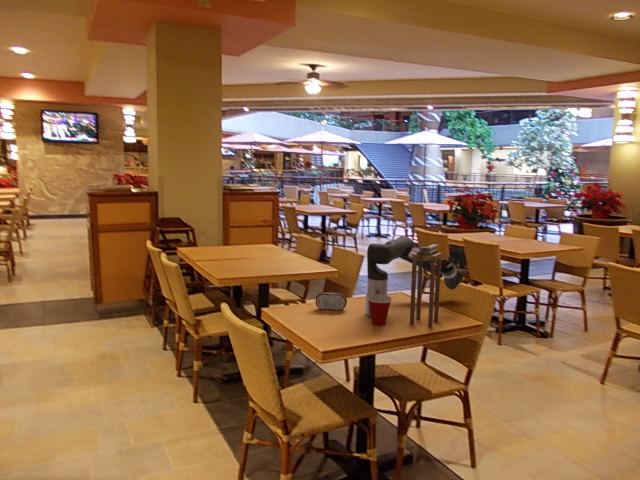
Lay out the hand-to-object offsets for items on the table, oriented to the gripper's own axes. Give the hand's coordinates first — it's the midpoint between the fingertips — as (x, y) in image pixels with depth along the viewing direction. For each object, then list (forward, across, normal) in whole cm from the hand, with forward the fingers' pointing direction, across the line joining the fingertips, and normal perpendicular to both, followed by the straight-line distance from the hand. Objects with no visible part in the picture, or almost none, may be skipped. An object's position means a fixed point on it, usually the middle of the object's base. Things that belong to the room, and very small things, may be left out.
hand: (440, 257), depth 249 cm
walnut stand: (+6, 0, +34) cm, 34 cm away
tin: (+8, -45, +35) cm, 58 cm away
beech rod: (+17, 0, +4) cm, 18 cm away
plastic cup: (+16, -16, +40) cm, 46 cm away
